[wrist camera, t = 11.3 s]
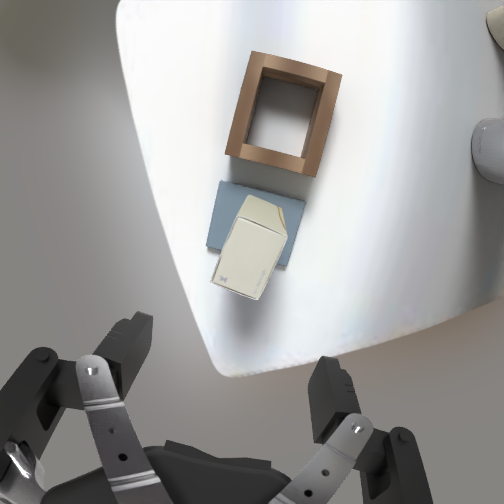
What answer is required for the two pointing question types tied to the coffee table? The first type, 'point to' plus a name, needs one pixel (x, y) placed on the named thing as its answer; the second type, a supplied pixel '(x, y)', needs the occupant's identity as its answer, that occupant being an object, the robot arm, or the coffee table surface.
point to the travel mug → (497, 25)
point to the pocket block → (320, 117)
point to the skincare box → (251, 248)
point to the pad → (232, 201)
